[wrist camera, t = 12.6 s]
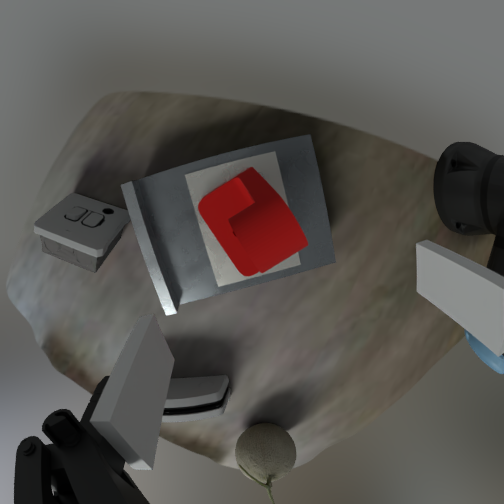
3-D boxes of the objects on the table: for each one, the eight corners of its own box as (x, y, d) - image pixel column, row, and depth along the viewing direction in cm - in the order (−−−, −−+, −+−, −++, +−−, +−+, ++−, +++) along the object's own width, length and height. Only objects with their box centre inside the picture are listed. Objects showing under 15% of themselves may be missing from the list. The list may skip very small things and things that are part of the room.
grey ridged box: (295, 139, 32) (316, 132, 25) (319, 247, 37) (342, 268, 29) (143, 180, 32) (120, 184, 24) (177, 285, 36) (166, 315, 29)
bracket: (195, 201, 27) (180, 219, 18) (250, 166, 27) (264, 166, 17) (243, 272, 30) (252, 321, 20) (294, 240, 29) (327, 276, 20)
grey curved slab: (137, 400, 42) (117, 427, 32) (131, 375, 42) (108, 399, 32) (232, 396, 43) (232, 426, 33) (228, 370, 43) (226, 396, 33)
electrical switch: (134, 211, 33) (103, 235, 25) (126, 248, 35) (97, 281, 26) (73, 191, 31) (32, 209, 23) (68, 227, 33) (30, 252, 25)
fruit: (254, 403, 44) (265, 475, 29) (300, 423, 47) (319, 486, 32) (218, 432, 45) (220, 498, 31) (264, 449, 48) (274, 508, 34)
